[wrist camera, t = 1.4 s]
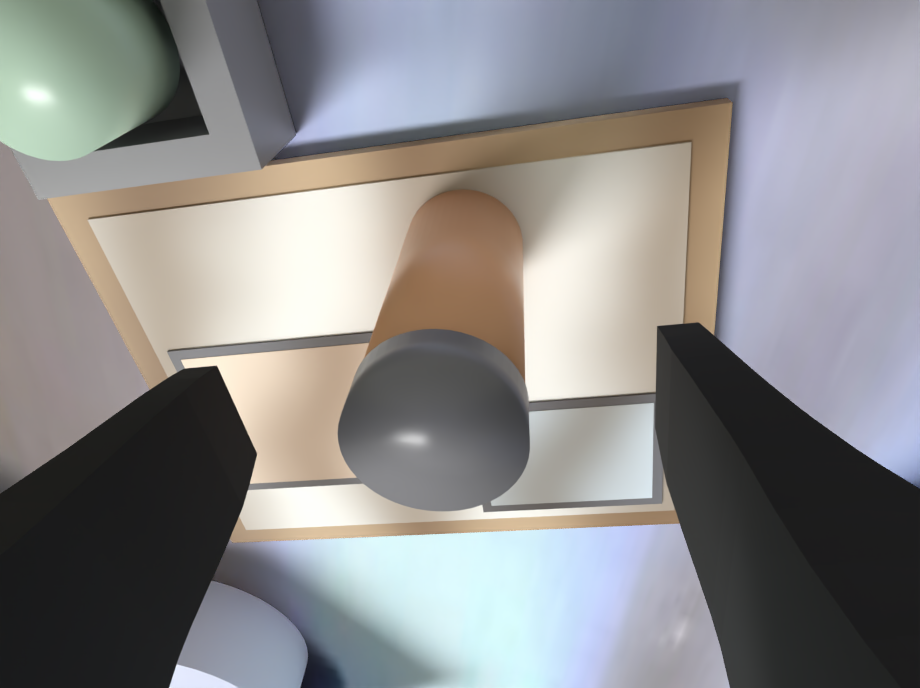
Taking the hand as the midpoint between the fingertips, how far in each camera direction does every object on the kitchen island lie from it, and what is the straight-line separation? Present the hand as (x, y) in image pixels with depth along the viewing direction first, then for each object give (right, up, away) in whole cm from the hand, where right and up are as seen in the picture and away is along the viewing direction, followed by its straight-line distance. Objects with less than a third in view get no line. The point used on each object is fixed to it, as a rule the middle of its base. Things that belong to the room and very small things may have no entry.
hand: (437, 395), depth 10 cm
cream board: (-1, 0, +8) cm, 8 cm away
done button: (-6, +6, +2) cm, 9 cm away
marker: (0, +3, +5) cm, 6 cm away
